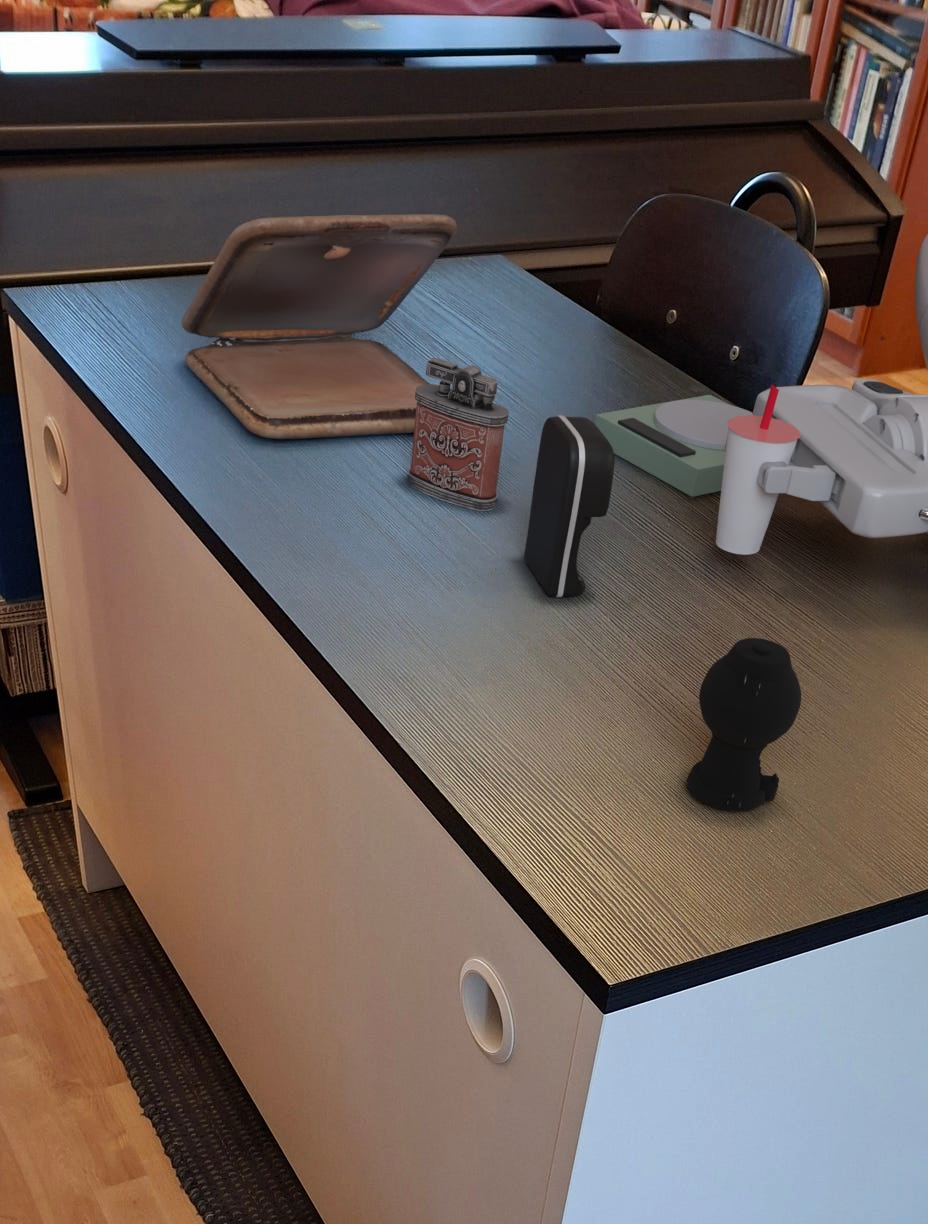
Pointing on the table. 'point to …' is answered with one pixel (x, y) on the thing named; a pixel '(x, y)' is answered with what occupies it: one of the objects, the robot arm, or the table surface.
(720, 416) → the kitchen scale
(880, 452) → the robot arm
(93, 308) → the table surface
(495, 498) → the lighter
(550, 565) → the battery charger
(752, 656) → the gumball machine
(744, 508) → the cup
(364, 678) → the table surface
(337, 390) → the case
